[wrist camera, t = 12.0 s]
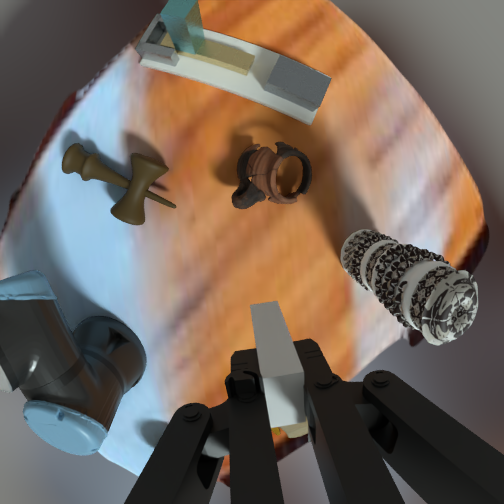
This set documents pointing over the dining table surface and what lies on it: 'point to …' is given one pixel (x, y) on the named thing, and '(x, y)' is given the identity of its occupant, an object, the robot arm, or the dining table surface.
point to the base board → (237, 75)
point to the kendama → (119, 180)
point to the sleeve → (297, 83)
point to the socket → (153, 51)
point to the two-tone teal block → (199, 38)
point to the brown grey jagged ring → (266, 175)
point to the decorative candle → (413, 284)
